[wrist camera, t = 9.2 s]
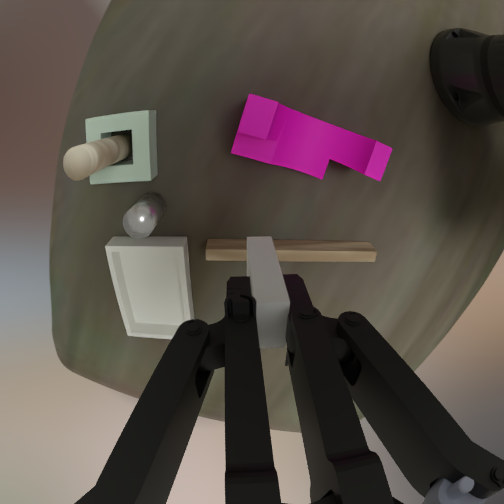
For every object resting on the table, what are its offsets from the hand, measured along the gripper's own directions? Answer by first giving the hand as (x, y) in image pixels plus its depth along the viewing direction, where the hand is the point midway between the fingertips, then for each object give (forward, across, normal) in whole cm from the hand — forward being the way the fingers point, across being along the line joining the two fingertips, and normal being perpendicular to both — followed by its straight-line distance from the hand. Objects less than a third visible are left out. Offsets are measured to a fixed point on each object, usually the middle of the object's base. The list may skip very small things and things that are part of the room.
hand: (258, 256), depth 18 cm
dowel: (+18, -15, +6) cm, 24 cm away
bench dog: (+18, -12, -2) cm, 22 cm away
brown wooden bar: (+18, +6, -8) cm, 20 cm away
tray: (+18, -13, -14) cm, 27 cm away
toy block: (+18, +6, +5) cm, 20 cm away
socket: (+18, -15, +6) cm, 24 cm away
